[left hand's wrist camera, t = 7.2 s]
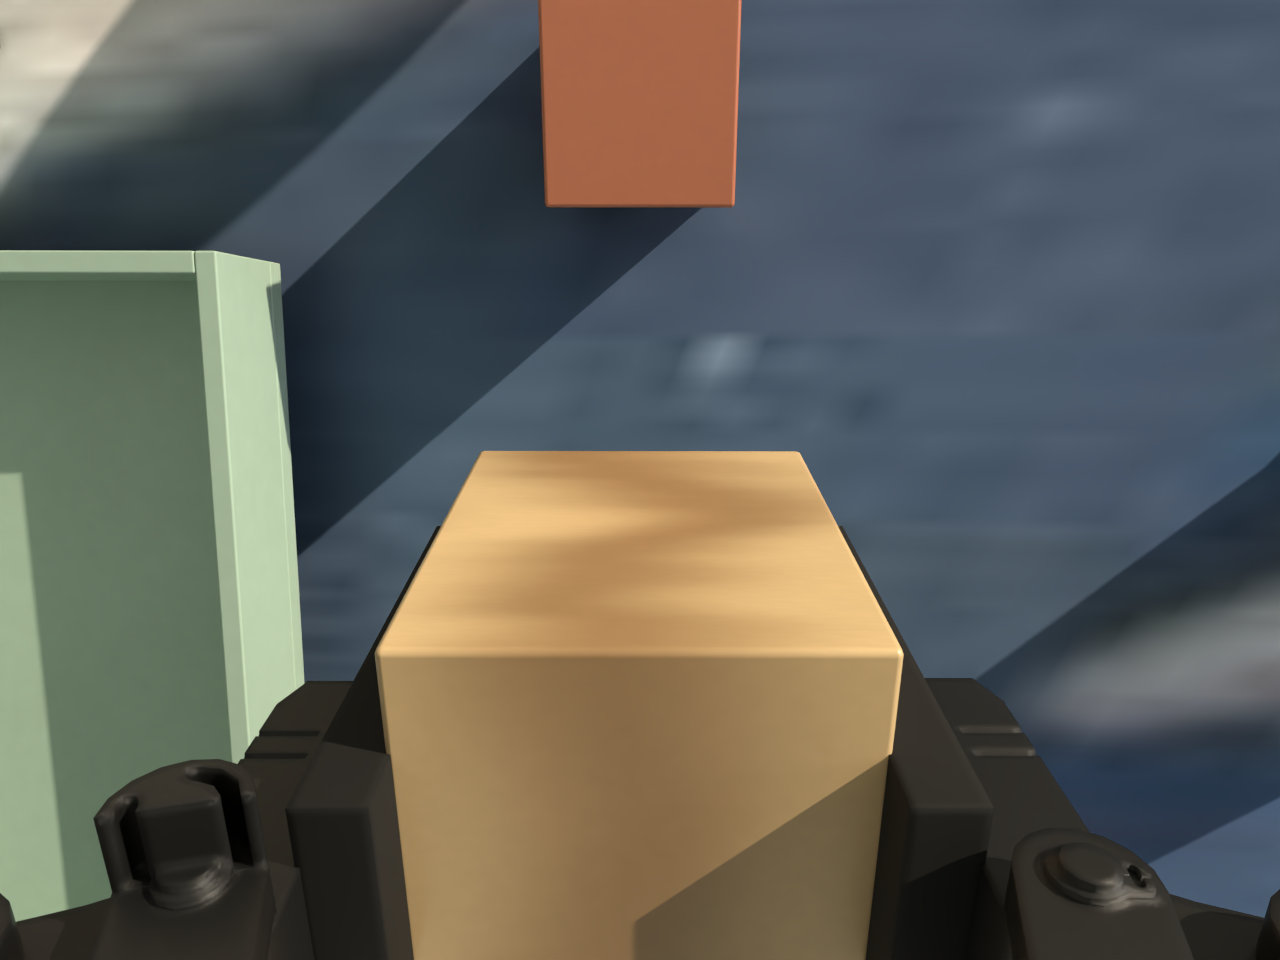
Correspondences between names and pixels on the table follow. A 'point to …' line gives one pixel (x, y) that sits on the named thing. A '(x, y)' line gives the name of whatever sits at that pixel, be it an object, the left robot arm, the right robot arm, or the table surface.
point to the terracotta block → (639, 102)
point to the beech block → (639, 714)
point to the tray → (135, 539)
